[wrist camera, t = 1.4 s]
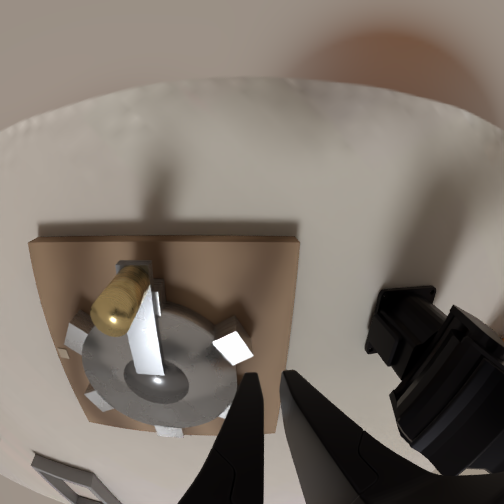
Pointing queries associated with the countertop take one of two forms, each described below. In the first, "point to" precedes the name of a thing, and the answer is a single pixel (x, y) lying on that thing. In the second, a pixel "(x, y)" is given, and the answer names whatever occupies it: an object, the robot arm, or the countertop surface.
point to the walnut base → (178, 298)
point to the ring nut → (156, 354)
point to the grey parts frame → (72, 481)
